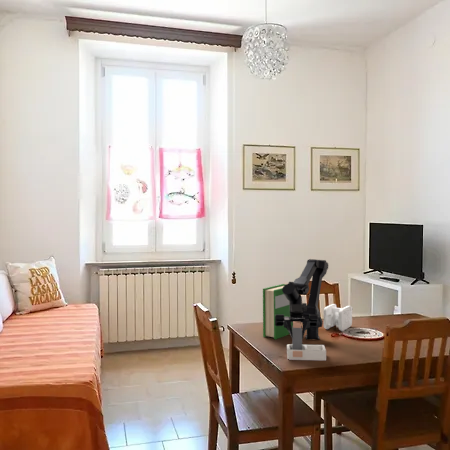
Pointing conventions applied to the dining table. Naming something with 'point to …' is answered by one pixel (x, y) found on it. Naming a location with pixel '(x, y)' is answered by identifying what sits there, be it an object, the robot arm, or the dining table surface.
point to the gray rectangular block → (297, 335)
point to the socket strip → (307, 352)
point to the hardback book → (274, 311)
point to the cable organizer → (337, 317)
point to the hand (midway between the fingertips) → (297, 337)
